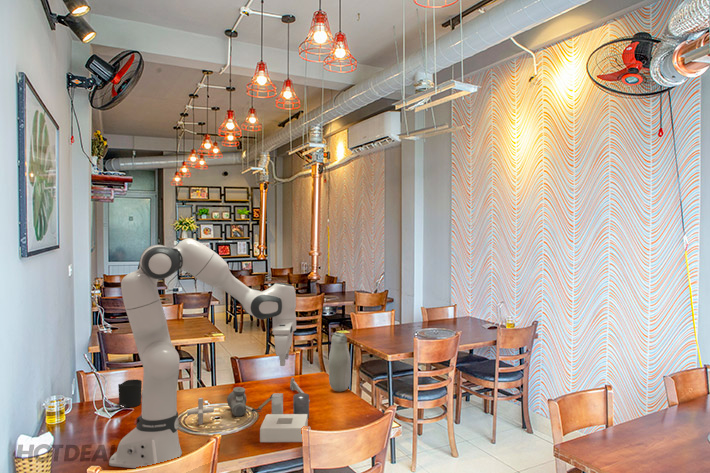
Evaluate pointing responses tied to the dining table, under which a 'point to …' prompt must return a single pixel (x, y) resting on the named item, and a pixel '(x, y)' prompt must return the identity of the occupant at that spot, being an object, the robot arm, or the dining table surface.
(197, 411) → the pipe connector
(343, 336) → the grey bottle
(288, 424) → the bore block
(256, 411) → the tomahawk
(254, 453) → the dining table surface
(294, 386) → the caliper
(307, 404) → the round pin
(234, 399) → the pipe fitting
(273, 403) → the square bar
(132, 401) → the pen holder
